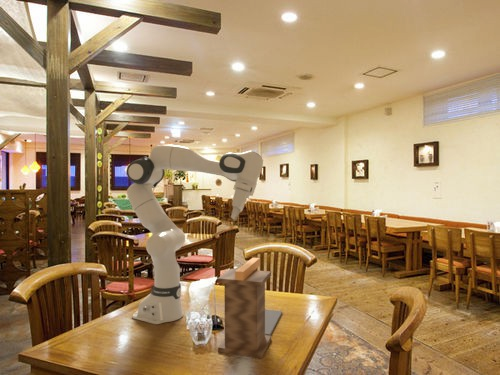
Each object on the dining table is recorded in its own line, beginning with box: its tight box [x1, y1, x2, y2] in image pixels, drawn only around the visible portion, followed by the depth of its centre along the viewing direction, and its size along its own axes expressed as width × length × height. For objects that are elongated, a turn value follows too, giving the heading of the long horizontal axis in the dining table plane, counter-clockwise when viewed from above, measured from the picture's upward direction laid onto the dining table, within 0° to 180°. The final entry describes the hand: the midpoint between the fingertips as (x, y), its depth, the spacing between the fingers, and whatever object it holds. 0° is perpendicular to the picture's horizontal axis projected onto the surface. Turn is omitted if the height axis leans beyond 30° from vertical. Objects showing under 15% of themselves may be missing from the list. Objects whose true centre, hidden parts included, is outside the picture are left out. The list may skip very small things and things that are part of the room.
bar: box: [235, 257, 261, 281], centre depth 124 cm, size 3×22×3 cm, turn 163°
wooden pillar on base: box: [217, 268, 272, 359], centre depth 121 cm, size 16×14×26 cm
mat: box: [265, 308, 283, 337], centre depth 141 cm, size 14×24×1 cm, turn 163°
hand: (233, 219), depth 138 cm, fingers open, 8 cm apart
